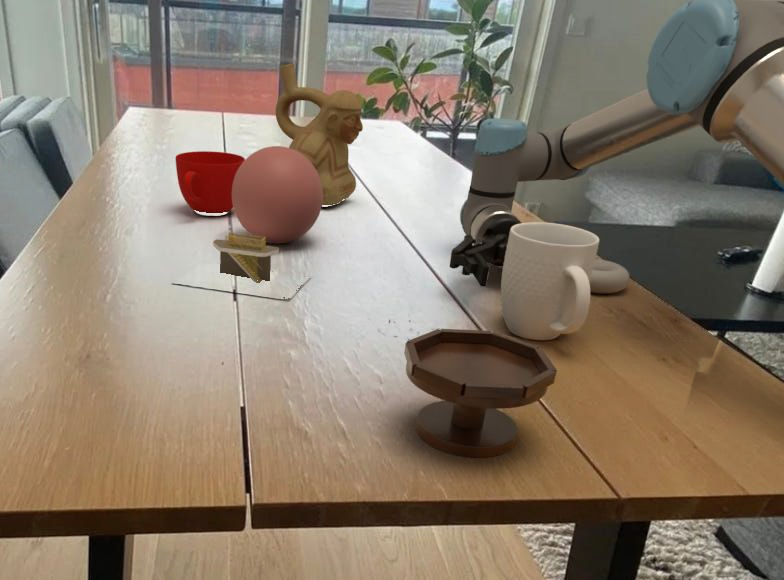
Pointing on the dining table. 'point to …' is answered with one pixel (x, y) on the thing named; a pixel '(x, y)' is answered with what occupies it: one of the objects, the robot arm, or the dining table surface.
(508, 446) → the cake stand
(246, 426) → the dining table surface
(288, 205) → the pink ball
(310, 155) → the ceramic vessel
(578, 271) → the mug
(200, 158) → the ceramic cup
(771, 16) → the robot arm
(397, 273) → the dining table surface
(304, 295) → the dining table surface
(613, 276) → the donut
